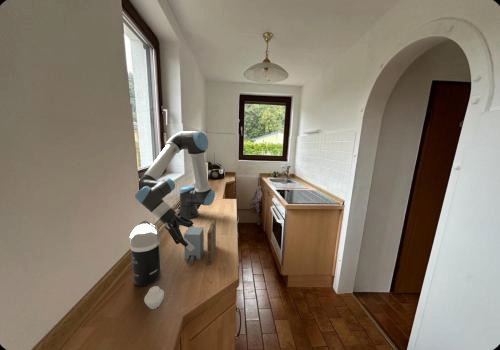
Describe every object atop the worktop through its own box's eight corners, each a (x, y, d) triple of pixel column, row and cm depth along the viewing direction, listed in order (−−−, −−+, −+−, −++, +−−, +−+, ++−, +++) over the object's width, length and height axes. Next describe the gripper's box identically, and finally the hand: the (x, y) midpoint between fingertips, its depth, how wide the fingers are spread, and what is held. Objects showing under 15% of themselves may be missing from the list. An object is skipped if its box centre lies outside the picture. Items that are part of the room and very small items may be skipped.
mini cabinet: (189, 249, 97) (189, 226, 95) (203, 249, 98) (203, 227, 96) (184, 259, 89) (184, 234, 87) (200, 259, 90) (199, 234, 88)
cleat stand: (197, 245, 101) (196, 218, 99) (215, 245, 102) (215, 218, 99) (188, 264, 86) (187, 232, 83) (210, 264, 86) (210, 232, 83)
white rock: (143, 303, 64) (142, 286, 63) (162, 295, 68) (161, 278, 67) (146, 316, 59) (145, 298, 58) (166, 306, 63) (166, 288, 62)
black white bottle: (141, 291, 69) (137, 230, 65) (128, 280, 74) (123, 222, 70) (166, 275, 78) (163, 220, 74) (152, 266, 83) (149, 214, 79)
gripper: (169, 208, 102) (197, 234, 105) (146, 229, 77) (183, 262, 80) (178, 200, 101) (206, 225, 104) (158, 218, 76) (195, 251, 80)
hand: (196, 241), depth 92 cm, fingers open, 13 cm apart
